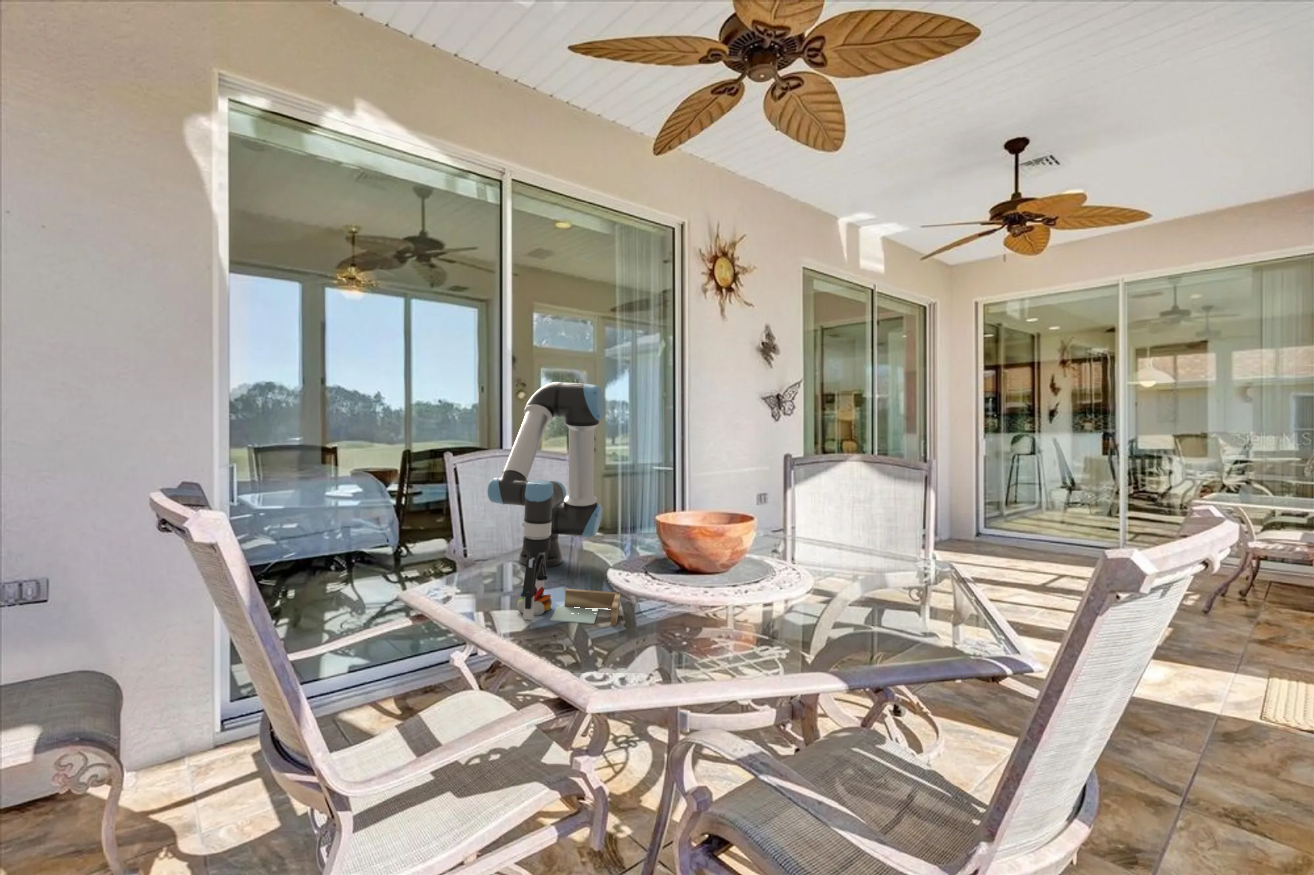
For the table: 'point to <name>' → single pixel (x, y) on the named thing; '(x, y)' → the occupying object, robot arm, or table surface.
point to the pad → (574, 615)
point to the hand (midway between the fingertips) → (533, 610)
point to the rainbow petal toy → (537, 602)
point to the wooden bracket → (594, 601)
